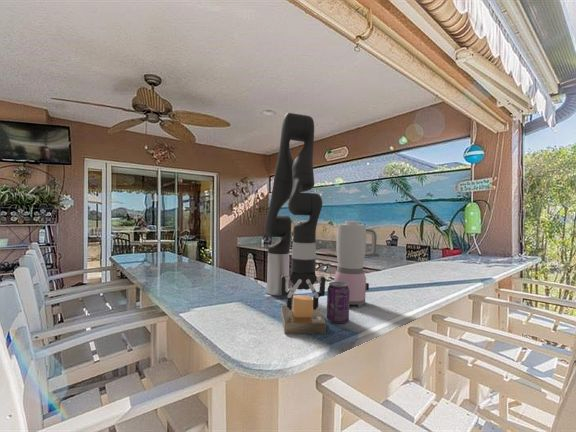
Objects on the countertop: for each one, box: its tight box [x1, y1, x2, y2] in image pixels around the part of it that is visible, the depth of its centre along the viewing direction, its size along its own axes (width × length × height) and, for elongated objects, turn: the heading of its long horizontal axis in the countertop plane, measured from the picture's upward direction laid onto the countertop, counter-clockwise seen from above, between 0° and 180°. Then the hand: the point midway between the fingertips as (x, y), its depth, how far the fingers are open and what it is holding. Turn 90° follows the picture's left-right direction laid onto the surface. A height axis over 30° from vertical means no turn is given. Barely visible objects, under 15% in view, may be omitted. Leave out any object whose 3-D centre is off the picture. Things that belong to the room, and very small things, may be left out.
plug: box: [292, 294, 313, 317], centre depth 94 cm, size 6×6×8 cm
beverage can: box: [326, 281, 350, 324], centre depth 97 cm, size 7×7×12 cm
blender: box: [333, 220, 377, 308], centre depth 117 cm, size 16×12×32 cm
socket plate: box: [280, 305, 327, 335], centre depth 94 cm, size 16×12×4 cm
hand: (302, 309), depth 94 cm, fingers open, 7 cm apart
